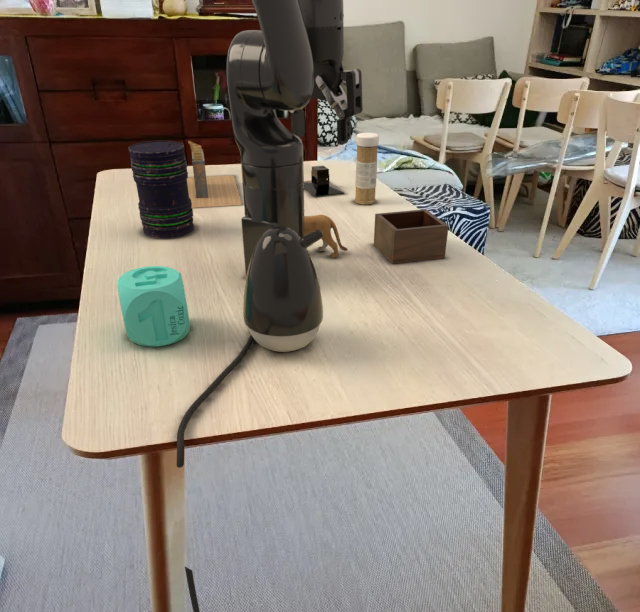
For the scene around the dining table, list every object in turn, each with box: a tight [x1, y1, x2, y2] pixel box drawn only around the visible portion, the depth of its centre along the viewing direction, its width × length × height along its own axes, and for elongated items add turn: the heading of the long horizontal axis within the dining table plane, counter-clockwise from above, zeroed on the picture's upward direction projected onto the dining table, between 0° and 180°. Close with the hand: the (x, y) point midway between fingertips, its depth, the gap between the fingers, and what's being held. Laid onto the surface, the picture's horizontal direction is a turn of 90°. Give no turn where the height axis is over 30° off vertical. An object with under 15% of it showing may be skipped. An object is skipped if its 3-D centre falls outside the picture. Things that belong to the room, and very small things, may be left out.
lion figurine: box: [304, 214, 349, 259], centre depth 104 cm, size 15×5×9 cm, turn 92°
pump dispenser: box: [242, 226, 324, 353], centre depth 76 cm, size 10×10×15 cm
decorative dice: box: [116, 265, 191, 348], centre depth 80 cm, size 8×8×8 cm
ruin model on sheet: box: [187, 140, 243, 209], centre depth 136 cm, size 25×16×10 cm, turn 11°
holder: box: [373, 208, 450, 265], centre depth 106 cm, size 10×10×6 cm
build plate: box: [304, 165, 345, 198], centre depth 139 cm, size 12×7×5 cm, turn 20°
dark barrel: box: [128, 140, 195, 240], centre depth 112 cm, size 10×10×15 cm
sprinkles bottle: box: [354, 132, 380, 205], centre depth 127 cm, size 5×5×13 cm
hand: (320, 140), depth 99 cm, fingers open, 8 cm apart
